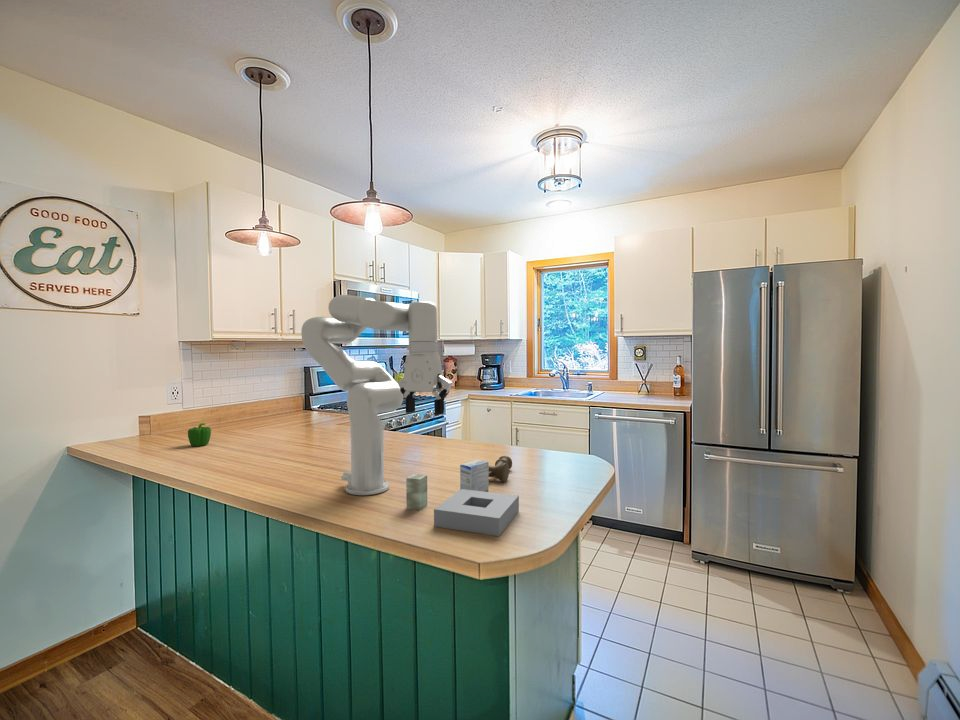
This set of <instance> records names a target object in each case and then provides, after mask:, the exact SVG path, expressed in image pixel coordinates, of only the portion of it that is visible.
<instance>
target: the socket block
mask: <svg viewBox="0 0 960 720" xmlns="http://www.w3.org/2000/svg"><path fill="white" fill-rule="evenodd" d="M519 498H520V495H515V494H508V493H501V492H491V491H485V492H483V491H475V490H466V489H460V488H459V490H458V491H456V492H454V494H453V495H451V496H450V497H448V498H447V499H445V500H444V501H443V502H441V504H439V505H438V506H436V507H434V509H433V526H434V527H437V528H444V529H451V530H457V531H464V532H469V533H476V534H483V535H489V536H496V537H500V536H501V534H502V533H503V532H504V531H505V529H506V528H508V526H509V525H510V523H511V522H512V521H513V520H514V518H515V517H516V516H517V514H518V513H519V512H520V504H519V503H520V501H519V500H520V499H519Z"/></svg>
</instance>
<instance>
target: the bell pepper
mask: <svg viewBox="0 0 960 720" xmlns="http://www.w3.org/2000/svg"><path fill="white" fill-rule="evenodd" d="M211 435H212V429H211V427H209V426H206V423H205V422H201V423H199V424H198V425H197V427H196V426H195V427H192V428H189V429H188V431H187V438H188V441H189V444H190V446H192V447H197V446H198V447H202V446H203V447H204V446H208V445H209V442H210V439H211Z"/></svg>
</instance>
